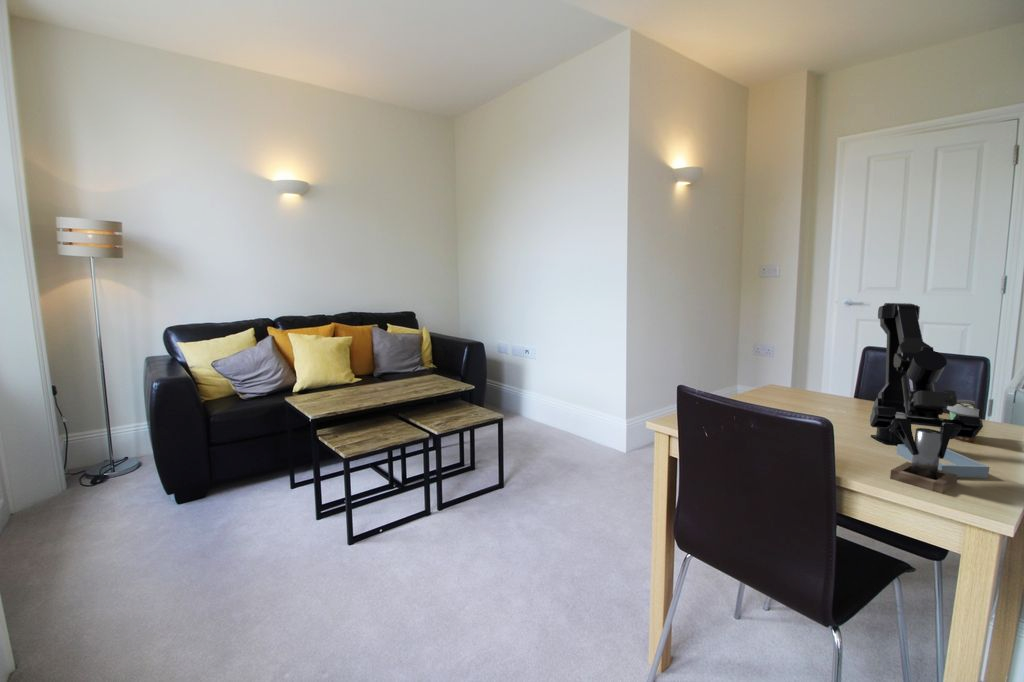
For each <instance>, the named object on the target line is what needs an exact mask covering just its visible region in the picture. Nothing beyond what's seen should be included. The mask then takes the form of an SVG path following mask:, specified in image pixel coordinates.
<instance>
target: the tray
mask: <svg viewBox="0 0 1024 682" xmlns="http://www.w3.org/2000/svg"><path fill="white" fill-rule="evenodd" d="M896 447H897V448H896V455H898V456H900V457H902V458H903V459H906V460H908V462H909V461H910V463H912V457H913V455H912V454H911V452H910V451H909V449H908V448H907V447H906V445H905V444H897V446H896ZM943 460H945V461H947V462H949V463H952V464H943V463H941V462H939V465H938V470H941V471H945V472H948V473H952V474H956V475H958V477H957V478H978V479H979V478H983V479H985V478H986V479H988V478H989V474H990V473H989V472H990V466H988V465H986V464H984V463H981V462H979V461H977V460H975V459H972V458H969V457H967V456H965V455H962V454H960V453H959V452H955V451H953V450H952V449H949V448H947V449H946V452H945V455H944V458H943Z"/></svg>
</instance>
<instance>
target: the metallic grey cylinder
mask: <svg viewBox="0 0 1024 682" xmlns="http://www.w3.org/2000/svg"><path fill="white" fill-rule="evenodd" d="M941 442H942V432H940V430H935V429H932V428H924V427H917V428H916V429H915V435H914V443H915V447H916V454H915V455H913V457H912V462H911V463H912V466H911V473H912V474H915V475H919V476H922V477H926V478H930V479H933V480H937V472H938V465H939V463H940V449H941Z"/></svg>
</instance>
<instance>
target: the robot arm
mask: <svg viewBox="0 0 1024 682" xmlns="http://www.w3.org/2000/svg"><path fill="white" fill-rule="evenodd" d="M920 309H921V306H918V304H914V303H910V302H909V303H907V302H906V303H902V302H901V303H900V302H897V303H896V302H884V304H883V305H881V306H879V307H878V309H877V310H878V311H877V319H878V320H880V321H879V325H880V328H881V329H882V330H883V331H884V333H885V335H886V352H885V353H886V354H885V355H886V358H885V385H884V386H883V387H882V389H881V390H880V391H879V392H878V393H877V397H876V399H874V400H875V401H874V404H873V406H872V409H871V414H870V416H869V425H870V427H872V428H876V434H871V435H870V437H871V439H874V440H876V439H877V440H876V441H878V440H879V442H880V441H881V442H880V443H882V442H883V443H882V444H884V443H885V445H898V444H904V445H906V447H907V448H908V449H909V451H910V452H911V454H912V455H915V454H916V447H915V443H914V441H915V437H914V435H913V432H912V431H913V430H912V425H914V426H923V427H933V428H938V429H939V430H938V431H939V432H942V442H941V449H940V457H939V459H943V458H944V455H945V452H946V449H948V445H949V442H950V440H955V439H954V438H955V437H962V438H975V439H976V437H977V435H978V434H979V432H980V431H981V430H982V429H983V427H984V425H983V420H982V419H981V418H980V416H979V417H978V416H973V415H963V414H956V416H955V417H954V419H953V420H950V418H943V417H942V418H941V417H940V416H942V415H943V414H944V409H947V407H948V406H952V407H953V406H955V405H956V404H957V400H958V397H957V393H956V392H957V391H955V390H948V389H945V390H944V391H935V386H934V383H937V382H938V380H939V379H940V377H941V374H942V373H943V371H944V370H945V368H946V365H947V363H948V361H947V358H945V356H944V355H943V354H942V353H940V352H938V351H935V350H934V347H933V346H930V345H929V344H928V343H926V342H924V340H923V335H922V331H921V326H920V322H919V321H920ZM943 460H944V459H943Z"/></svg>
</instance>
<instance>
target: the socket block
mask: <svg viewBox="0 0 1024 682" xmlns="http://www.w3.org/2000/svg"><path fill="white" fill-rule="evenodd" d="M911 466H912V462H911V461H910V462H909V461H905V462H904V463H901V464H899V466H898V465H897V466H896V467H894V468H892V469H891V470H890V477H889V479H890V480H893V481H896V482H900V483H904V484H906V485H910V486H913V487H916V488H920V489H924V490H927V491H930V492H935V493H937V494H941V495H943V493H945V492H946V491H948V490H949V489H952V488H953V487H954V486H956V485H957V482H958V478H959V477H958V475H956V474H952V473H948V472H945V471H941V470H938V472H937V480H933V479H930V478H926V477H922V476H919V475H915V474H912V473H911Z"/></svg>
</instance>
